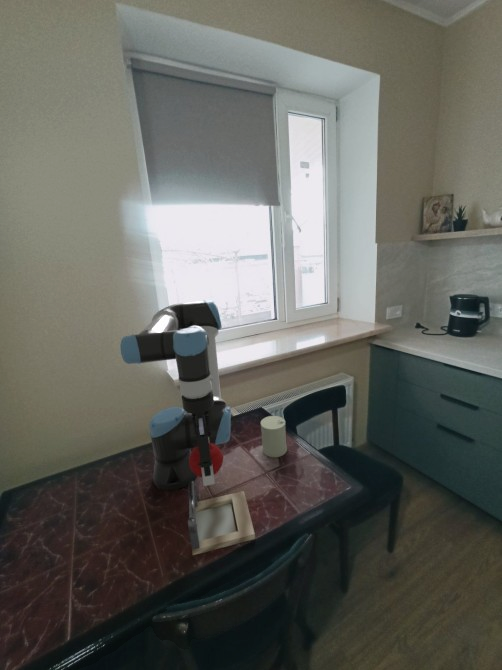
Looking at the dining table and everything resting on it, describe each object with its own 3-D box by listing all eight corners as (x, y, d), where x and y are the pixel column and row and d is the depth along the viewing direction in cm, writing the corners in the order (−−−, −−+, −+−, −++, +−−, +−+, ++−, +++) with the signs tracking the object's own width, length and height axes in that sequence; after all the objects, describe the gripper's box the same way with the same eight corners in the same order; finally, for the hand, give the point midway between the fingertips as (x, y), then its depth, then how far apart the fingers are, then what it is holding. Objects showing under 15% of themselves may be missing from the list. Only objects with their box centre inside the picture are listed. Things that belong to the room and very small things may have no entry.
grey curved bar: (192, 555, 71) (187, 524, 69) (191, 501, 87) (187, 475, 85) (199, 553, 72) (194, 522, 69) (197, 500, 88) (193, 473, 85)
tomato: (225, 481, 73) (222, 453, 71) (189, 487, 72) (185, 459, 70) (223, 458, 82) (220, 432, 80) (191, 463, 80) (187, 437, 78)
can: (288, 456, 106) (286, 427, 103) (262, 458, 106) (260, 429, 103) (285, 441, 115) (284, 413, 112) (262, 442, 115) (260, 415, 112)
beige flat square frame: (192, 555, 73) (191, 550, 72) (191, 507, 87) (190, 503, 87) (255, 538, 76) (254, 533, 75) (244, 495, 90) (243, 490, 90)
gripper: (216, 410, 61) (227, 499, 67) (209, 373, 82) (218, 443, 88) (180, 417, 60) (194, 506, 66) (182, 377, 81) (192, 448, 86)
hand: (207, 470), depth 77 cm, fingers closed on tomato, 9 cm apart
